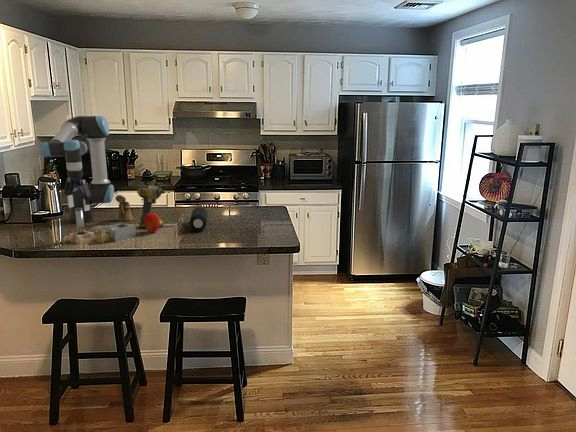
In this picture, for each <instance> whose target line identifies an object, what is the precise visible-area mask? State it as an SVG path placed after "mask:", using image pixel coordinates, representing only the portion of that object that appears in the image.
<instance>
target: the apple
mask: <svg viewBox="0 0 576 432" xmlns="http://www.w3.org/2000/svg"><path fill="white" fill-rule="evenodd" d="M159 224H160V217H159V215H158V214H157V213H153V212H150V214H146V215H145V217H144V226H145V228H144V229H145V230H146V231H147V232H148V233H149V234H153V233H156V232H157V231H158V230H159Z"/></svg>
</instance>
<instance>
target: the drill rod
mask: <svg viewBox="0 0 576 432" xmlns="http://www.w3.org/2000/svg"><path fill="white" fill-rule="evenodd" d="M75 212H76V222H77V223H76V230H77V231H76V232H78V235H83V234H85V231H86V230H85V222H84V219H83V209H82V208H75Z"/></svg>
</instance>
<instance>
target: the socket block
mask: <svg viewBox="0 0 576 432" xmlns="http://www.w3.org/2000/svg"><path fill="white" fill-rule="evenodd" d="M136 231H137V229H136V224H129V223H127V222H126V223H125V222H119V223H116V224H112V225H108V226H104V227H101V234H104V233H110V236H111V240H110V241H111V242H120V241H123V240H126V239H129V238H132V237H135V236H137V232H136Z"/></svg>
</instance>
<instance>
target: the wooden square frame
mask: <svg viewBox="0 0 576 432" xmlns="http://www.w3.org/2000/svg"><path fill="white" fill-rule="evenodd" d="M68 238H69V242H72V243H76V244H79V245H80V244H84V243H87V242H91V241H95V240H96V238H95V232H94V231H88V230H85V234H83V235H78V231H75V232H72V233H68Z"/></svg>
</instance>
